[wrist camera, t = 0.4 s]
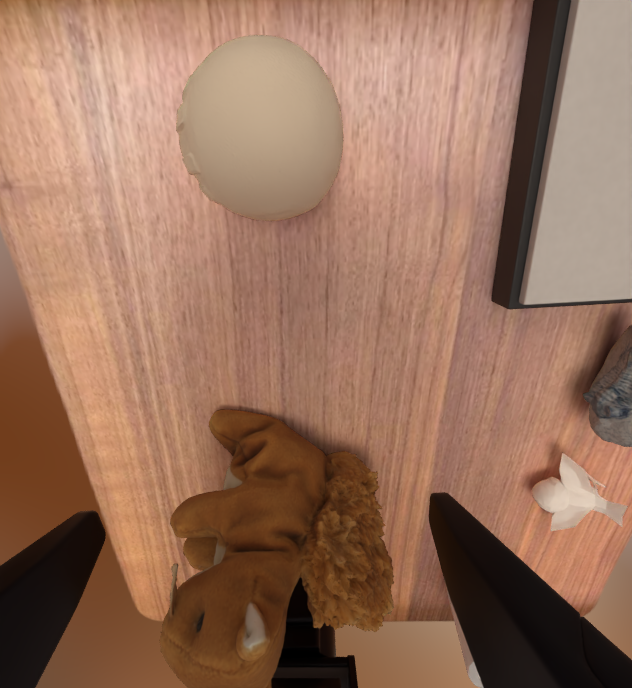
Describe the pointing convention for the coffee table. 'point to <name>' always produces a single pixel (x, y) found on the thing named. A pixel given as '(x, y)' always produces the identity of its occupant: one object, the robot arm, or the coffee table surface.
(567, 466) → the toy bird
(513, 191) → the kitchen scale
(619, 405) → the fossil
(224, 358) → the coffee table surface
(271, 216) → the beige round ball
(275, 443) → the stuffed squirrel
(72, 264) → the coffee table surface
